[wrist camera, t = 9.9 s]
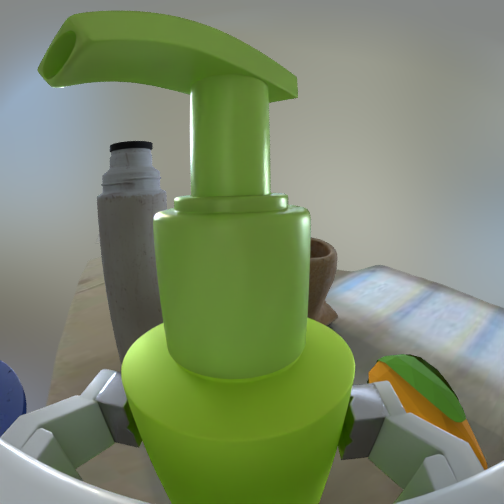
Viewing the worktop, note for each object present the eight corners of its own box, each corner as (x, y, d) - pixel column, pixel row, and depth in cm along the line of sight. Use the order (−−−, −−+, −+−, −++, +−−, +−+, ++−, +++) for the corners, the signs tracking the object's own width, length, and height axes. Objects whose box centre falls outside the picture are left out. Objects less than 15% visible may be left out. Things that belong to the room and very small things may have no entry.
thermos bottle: (132, 349, 39) (113, 149, 33) (184, 352, 39) (172, 144, 33) (115, 381, 31) (84, 143, 25) (175, 386, 32) (155, 134, 25)
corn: (411, 328, 29) (534, 428, 10) (400, 379, 31) (494, 481, 12) (357, 343, 28) (478, 479, 9) (349, 396, 30) (436, 524, 11)
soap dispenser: (160, 543, 9) (23, 85, 4) (241, 481, 14) (223, 107, 10) (246, 602, 5) (177, -112, 1) (323, 521, 10) (391, 81, 6)
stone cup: (294, 362, 37) (301, 253, 34) (240, 330, 46) (239, 238, 43) (354, 326, 47) (365, 239, 43) (303, 306, 56) (307, 228, 52)
